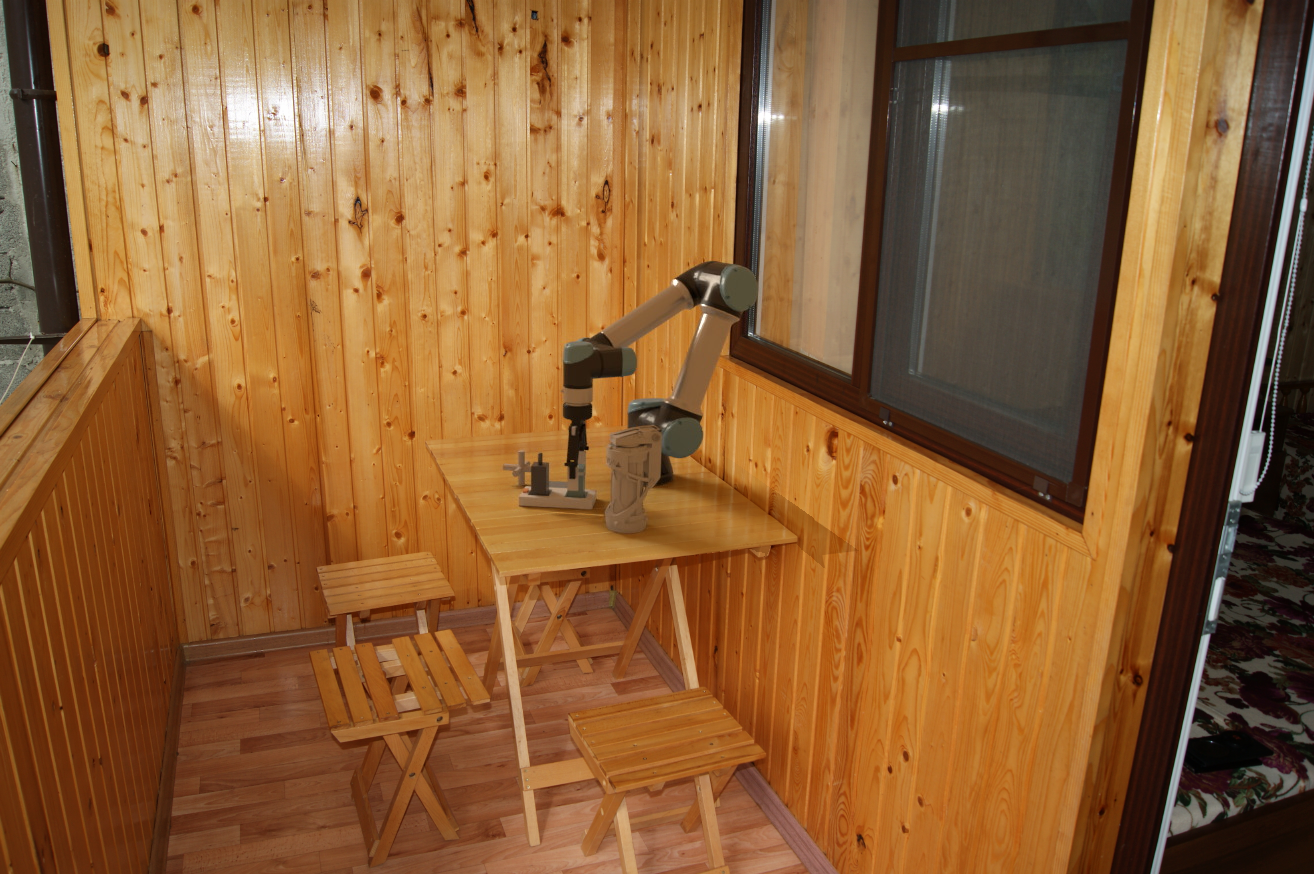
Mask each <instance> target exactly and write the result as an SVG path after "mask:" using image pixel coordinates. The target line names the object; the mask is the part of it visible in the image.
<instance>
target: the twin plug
mask: <svg viewBox="0 0 1314 874" xmlns="http://www.w3.org/2000/svg"><path fill="white" fill-rule="evenodd" d="M543 457H544V455H543V452H538V453H537V461H533V463H532V464H531V465H530V466H531V472H530V486H531V495H537V496H549V481H550V462H546V461H545V462H543Z"/></svg>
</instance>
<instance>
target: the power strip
mask: <svg viewBox="0 0 1314 874" xmlns="http://www.w3.org/2000/svg"><path fill="white" fill-rule="evenodd" d="M524 486H525V485H524ZM597 493H598V492H597V489H586V488H585V498H574V497H567V488H551V487H549V496H537V495H531V485H530V486H529V485H527V486H525V487H523V490H522V491H521V493H520V494H519V495H518V507H528V508H529V507H531V508H547V509H565V510H566V509H568V510H585V511H586V510H587V511H592V510H593V508H594V506H595V503H596V500H597Z"/></svg>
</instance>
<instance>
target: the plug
mask: <svg viewBox="0 0 1314 874" xmlns="http://www.w3.org/2000/svg"><path fill="white" fill-rule="evenodd" d="M578 466H579V470H578V491H569V490H567V497H574V498H585V489H586V475H585V464H578Z"/></svg>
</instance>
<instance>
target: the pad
mask: <svg viewBox="0 0 1314 874" xmlns="http://www.w3.org/2000/svg"><path fill="white" fill-rule="evenodd" d="M549 487H551V488H567V481H558V480H549Z"/></svg>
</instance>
